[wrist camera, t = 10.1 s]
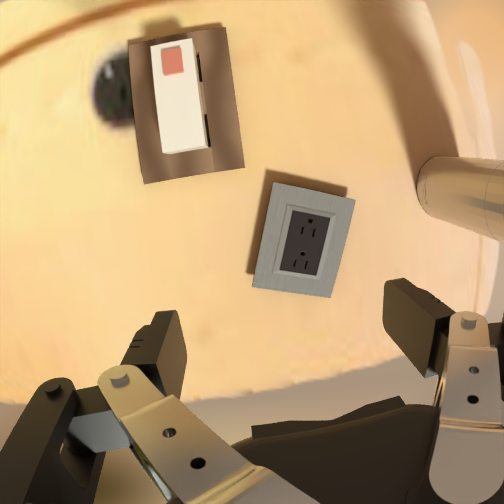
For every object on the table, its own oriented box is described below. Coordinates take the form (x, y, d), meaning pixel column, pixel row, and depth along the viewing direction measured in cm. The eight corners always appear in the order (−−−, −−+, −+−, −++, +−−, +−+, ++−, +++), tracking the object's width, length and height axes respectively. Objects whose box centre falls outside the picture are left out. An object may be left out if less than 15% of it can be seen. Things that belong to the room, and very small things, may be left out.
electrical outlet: (271, 180, 39) (274, 181, 37) (349, 198, 40) (356, 200, 38) (250, 280, 42) (252, 287, 40) (325, 291, 44) (331, 298, 41)
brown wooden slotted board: (225, 31, 33) (225, 27, 31) (244, 167, 38) (244, 167, 36) (131, 49, 32) (128, 45, 31) (146, 183, 37) (143, 184, 36)
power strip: (196, 56, 34) (191, 36, 27) (209, 148, 37) (205, 145, 30) (161, 63, 33) (149, 44, 27) (172, 154, 37) (161, 152, 30)
